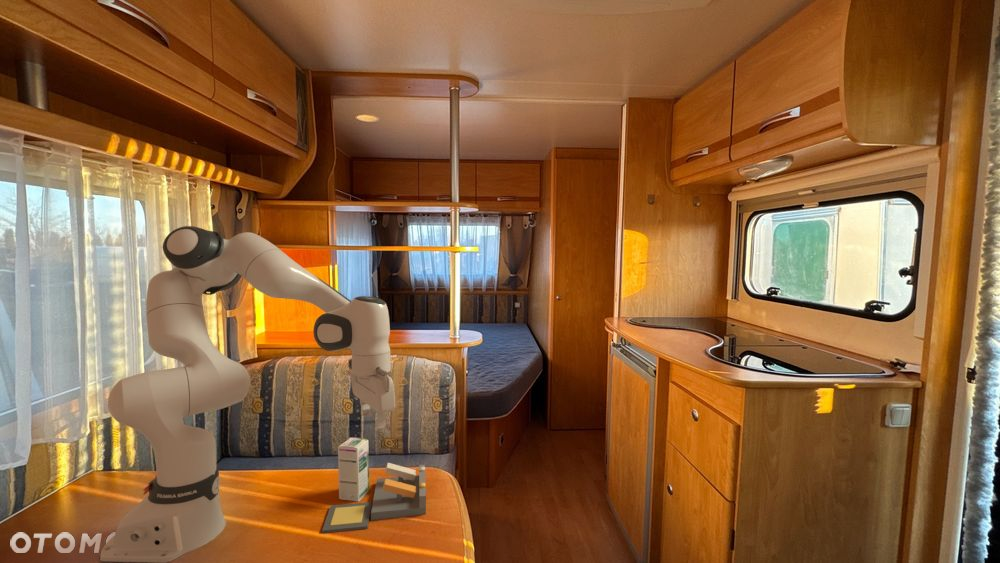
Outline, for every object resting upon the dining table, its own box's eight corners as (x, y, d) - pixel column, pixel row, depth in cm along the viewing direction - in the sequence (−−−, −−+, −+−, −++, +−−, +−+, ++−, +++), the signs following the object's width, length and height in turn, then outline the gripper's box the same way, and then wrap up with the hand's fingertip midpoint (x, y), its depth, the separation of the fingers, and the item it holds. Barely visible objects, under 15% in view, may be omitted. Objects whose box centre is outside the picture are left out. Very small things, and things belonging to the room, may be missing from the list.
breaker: (385, 473, 116) (387, 467, 116) (385, 468, 119) (387, 462, 119) (413, 480, 118) (415, 475, 118) (413, 475, 120) (415, 470, 120)
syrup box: (358, 502, 112) (358, 447, 111) (337, 499, 113) (337, 445, 112) (369, 491, 117) (369, 438, 116) (349, 488, 119) (349, 436, 118)
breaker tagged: (382, 490, 108) (384, 484, 108) (383, 484, 110) (385, 478, 110) (413, 498, 109) (415, 492, 109) (413, 492, 112) (415, 486, 112)
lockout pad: (322, 533, 100) (322, 529, 100) (330, 507, 109) (330, 505, 109) (367, 528, 101) (367, 525, 101) (371, 504, 111) (371, 501, 111)
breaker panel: (371, 520, 104) (370, 498, 104) (377, 485, 120) (377, 466, 120) (425, 515, 107) (426, 493, 107) (424, 481, 123) (424, 462, 122)
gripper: (401, 370, 97) (403, 431, 98) (370, 356, 114) (372, 408, 114) (373, 374, 93) (375, 438, 94) (345, 359, 110) (347, 413, 110)
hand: (373, 421), depth 104 cm, fingers open, 8 cm apart
